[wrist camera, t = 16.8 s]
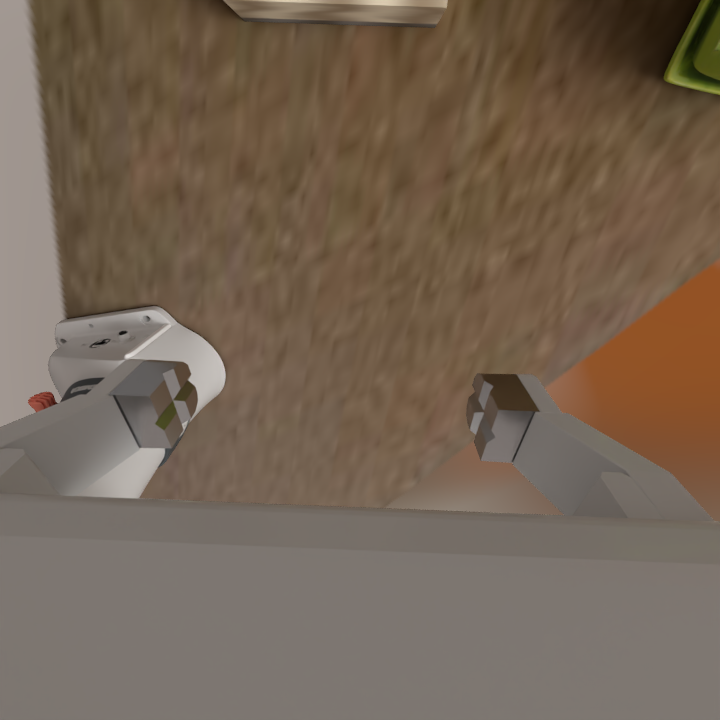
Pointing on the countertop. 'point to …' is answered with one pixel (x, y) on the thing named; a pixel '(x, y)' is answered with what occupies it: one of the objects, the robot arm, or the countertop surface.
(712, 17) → the flower pot
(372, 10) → the can holder
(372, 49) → the countertop surface
